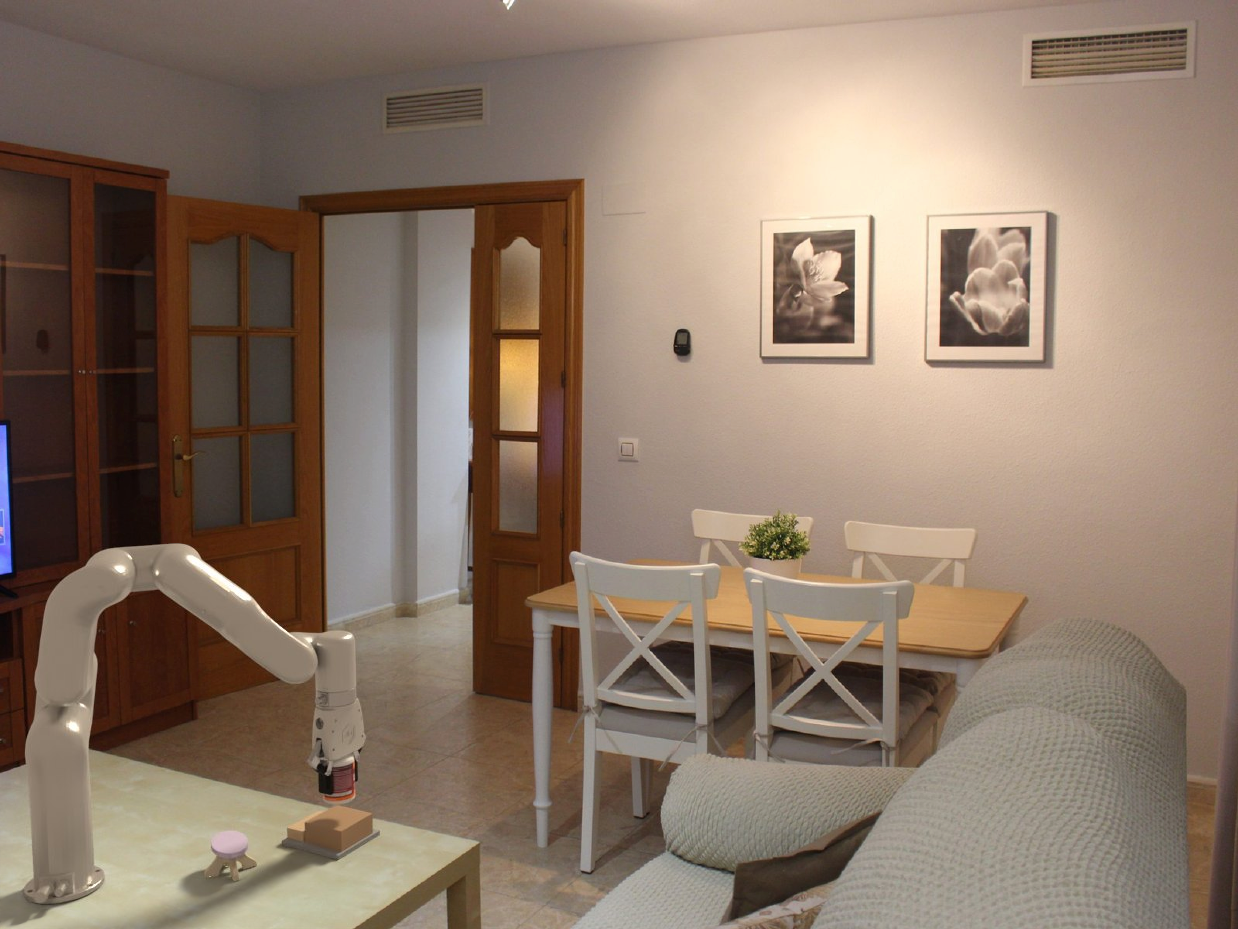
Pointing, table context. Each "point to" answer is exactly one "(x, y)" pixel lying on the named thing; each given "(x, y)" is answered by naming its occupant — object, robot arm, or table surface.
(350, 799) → the pill bottle
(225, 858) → the toy table
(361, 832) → the stand
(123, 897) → the table surface
